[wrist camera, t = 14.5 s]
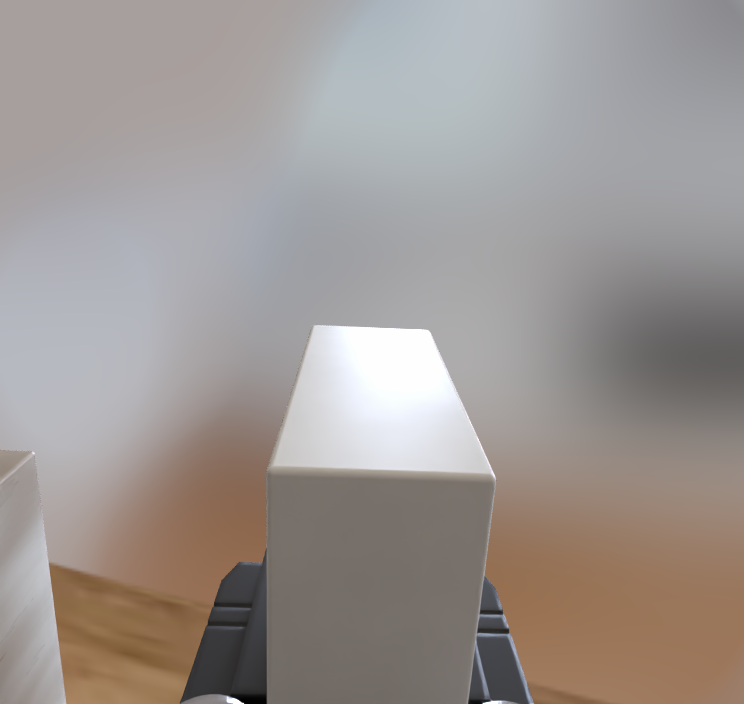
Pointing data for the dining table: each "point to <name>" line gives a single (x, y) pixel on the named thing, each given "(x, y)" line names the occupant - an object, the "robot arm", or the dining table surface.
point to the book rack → (25, 590)
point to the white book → (374, 526)
